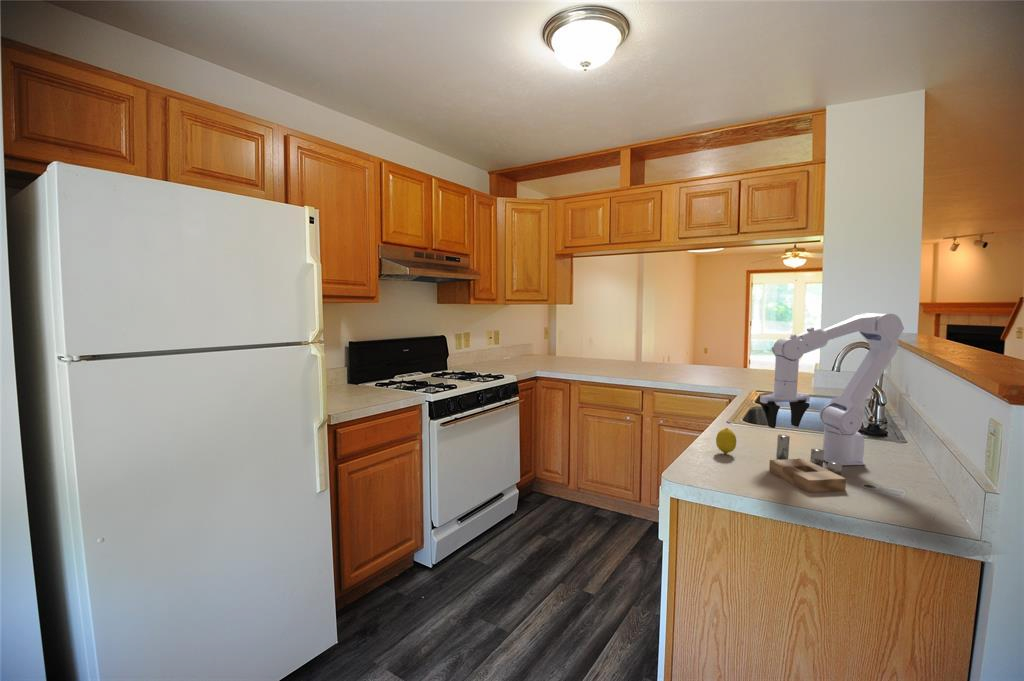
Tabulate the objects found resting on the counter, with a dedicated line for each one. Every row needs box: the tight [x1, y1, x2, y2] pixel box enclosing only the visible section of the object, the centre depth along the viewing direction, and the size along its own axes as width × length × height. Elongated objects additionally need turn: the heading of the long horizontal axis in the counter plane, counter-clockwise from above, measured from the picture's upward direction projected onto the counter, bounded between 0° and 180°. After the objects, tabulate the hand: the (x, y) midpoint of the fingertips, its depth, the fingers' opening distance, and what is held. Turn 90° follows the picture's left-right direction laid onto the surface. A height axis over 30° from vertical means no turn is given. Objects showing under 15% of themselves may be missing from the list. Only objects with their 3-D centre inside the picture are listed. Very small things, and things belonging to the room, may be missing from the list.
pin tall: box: [775, 433, 791, 460], centre depth 134 cm, size 3×3×7 cm
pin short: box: [827, 461, 843, 476], centre depth 122 cm, size 3×3×4 cm
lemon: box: [715, 427, 737, 455], centre depth 138 cm, size 6×6×8 cm
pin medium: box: [809, 447, 824, 468], centre depth 128 cm, size 3×3×5 cm
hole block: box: [768, 458, 847, 493], centre depth 119 cm, size 10×14×3 cm
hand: (783, 426), depth 134 cm, fingers open, 7 cm apart
